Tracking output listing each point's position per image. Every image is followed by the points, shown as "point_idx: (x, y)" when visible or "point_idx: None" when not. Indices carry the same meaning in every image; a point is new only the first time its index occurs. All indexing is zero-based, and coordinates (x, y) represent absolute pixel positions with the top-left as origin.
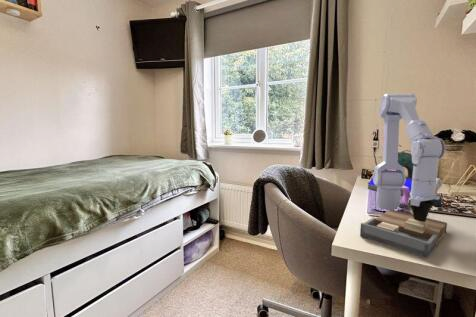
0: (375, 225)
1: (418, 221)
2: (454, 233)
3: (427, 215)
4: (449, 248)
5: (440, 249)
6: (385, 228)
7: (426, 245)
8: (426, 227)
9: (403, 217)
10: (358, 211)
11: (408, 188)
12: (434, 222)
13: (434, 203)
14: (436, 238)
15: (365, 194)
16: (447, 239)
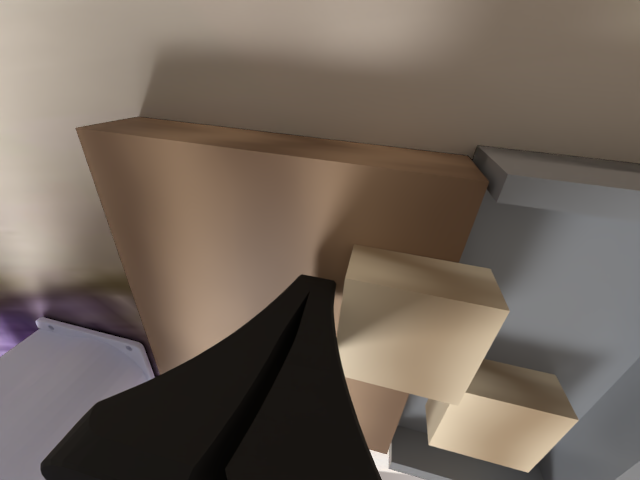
0: (408, 424)
1: (365, 332)
2: (114, 65)
3: (260, 314)
4: (444, 57)
5: (508, 113)
6: (552, 445)
7: None
8: (371, 259)
9: None
10: None
11: None
12: (158, 206)
13: (96, 423)
14: (521, 168)
15: None
16: (265, 93)
